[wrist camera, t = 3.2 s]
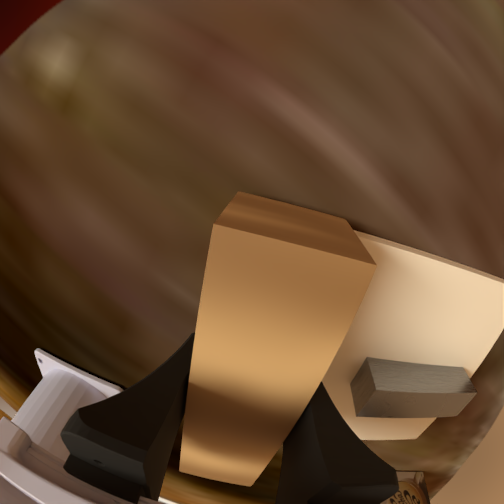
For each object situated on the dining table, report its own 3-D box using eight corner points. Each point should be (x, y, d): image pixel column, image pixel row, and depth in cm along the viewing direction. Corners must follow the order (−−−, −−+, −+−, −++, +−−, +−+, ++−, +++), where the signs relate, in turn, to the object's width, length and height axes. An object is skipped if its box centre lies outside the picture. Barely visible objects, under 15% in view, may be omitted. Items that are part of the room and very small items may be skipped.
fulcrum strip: (445, 390, 13) (456, 416, 11) (349, 383, 13) (355, 416, 11) (463, 367, 13) (477, 392, 11) (366, 356, 13) (376, 389, 11)
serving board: (413, 430, 16) (416, 438, 16) (198, 405, 16) (195, 415, 16) (516, 284, 11) (523, 290, 10) (238, 200, 11) (235, 204, 11)
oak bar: (257, 433, 16) (250, 486, 12) (194, 419, 16) (179, 471, 12) (345, 219, 10) (377, 265, 7) (238, 191, 10) (213, 223, 7)
